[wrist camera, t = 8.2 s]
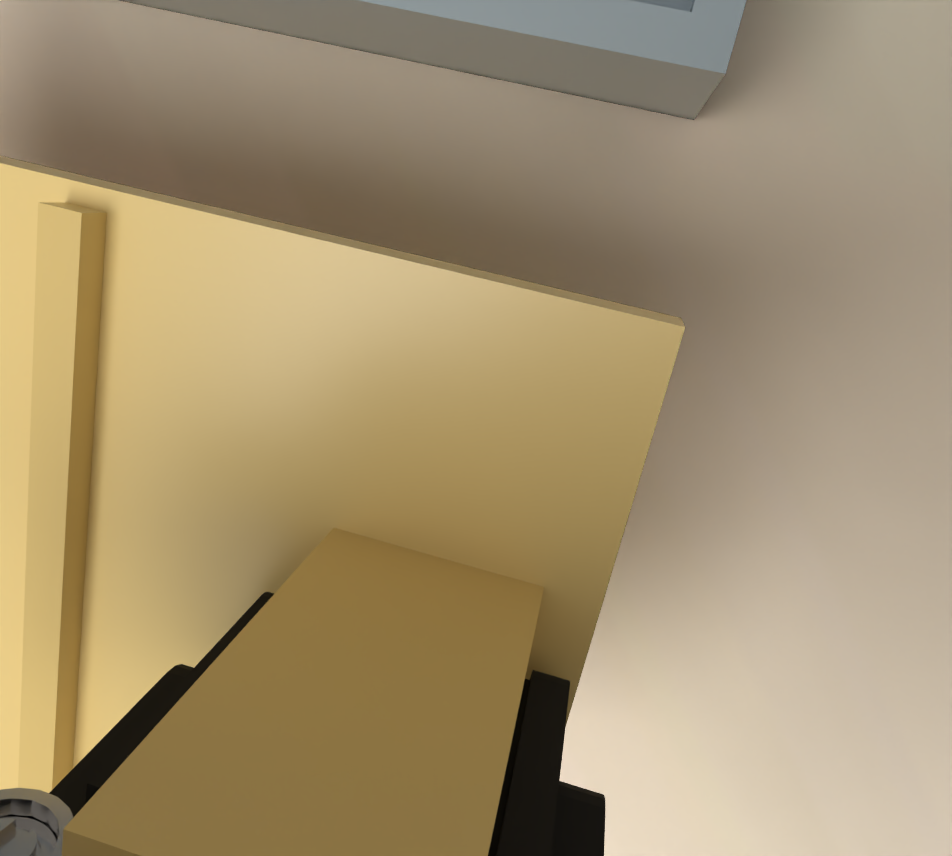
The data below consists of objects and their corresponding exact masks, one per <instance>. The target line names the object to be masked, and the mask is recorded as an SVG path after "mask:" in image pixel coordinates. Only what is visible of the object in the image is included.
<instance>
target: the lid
mask: <svg viewBox="0 0 952 856" xmlns="http://www.w3.org/2000/svg"><path fill="white" fill-rule="evenodd" d="M684 330H685V326H684V324H683V322H682V320H681V318H679V317H675V316H671V315H666V314H662V313H658V312H654V311H650V310H645V309H641V308H637V307H633V306H629V305H625V304H620V303H616V302H612V301H608V300H604V299H599V298H595V297H591V296H587V295H583V294H578V293H574V292H570V291H566V290H562V289H557V288H553V287H549V286H545V285H541V284H536V283H532V282H528V281H524V280H520V279H515V278H511V277H507V276H503V275H499V274H495V273H490V272H486V271H482V270H478V269H474V268H469V267H465V266H461V265H457V264H453V263H448V262H444V261H440V260H436V259H432V258H427V257H423V256H419V255H415V254H411V253H406V252H402V251H398V250H394V249H390V248H385V247H381V246H377V245H373V244H369V243H365V242H360V241H356V240H352V239H348V238H344V237H339V236H335V235H331V234H327V233H323V232H318V231H314V230H310V229H306V228H302V227H297V226H293V225H289V224H285V223H281V222H276V221H272V220H268V219H264V218H260V217H255V216H251V215H247V214H243V213H239V212H235V211H230V210H226V209H222V208H218V207H214V206H209V205H205V204H201V203H197V202H193V201H188V200H184V199H180V198H176V197H172V196H167V195H163V194H159V193H155V192H151V191H146V190H142V189H138V188H134V187H130V186H125V185H121V184H117V183H113V182H109V181H105V180H100V179H96V178H92V177H88V176H84V175H79V174H75V173H71V172H67V171H63V170H58V169H54V168H50V167H46V166H42V165H37V164H33V163H29V162H25V161H21V160H16V159H12V158H8V157H4V156H0V790H2V789H11V788H27V789H36V790H42V791H44V792H47V793H50V792H51V791H52V790H53V789H54V788H55V786H56V785H57V784H58V783H59V782H60V781H61V780H62V779H63V778H64V777H65V776H66V775H67V774H68V773H69V772H70V771H71V770H72V769H73V768H74V767H75V766H76V765H77V764H78V763H79V762H80V761H81V760H82V759H83V758H84V757H85V756H86V755H87V754H88V753H89V752H90V751H91V750H92V749H93V748H94V747H95V746H96V744H97V743H98V742H99V741H100V740H101V739H102V738H103V737H104V736H105V735H106V734H107V733H108V732H109V731H110V730H111V729H112V728H113V727H114V726H115V725H116V724H117V723H118V722H119V721H120V720H121V719H122V718H123V717H124V716H125V715H126V714H127V713H128V712H129V711H130V710H131V709H132V708H133V707H134V706H135V705H136V703H137V702H138V701H139V700H140V699H141V698H142V697H143V696H144V695H145V694H146V693H147V692H148V691H149V690H150V689H151V688H152V687H153V686H154V685H155V684H156V683H157V682H158V681H159V680H160V679H161V678H162V677H163V676H164V675H165V674H166V673H167V672H168V671H169V670H170V669H172V668H173V667H174V666H175V665H179V664H184V665H187V666H190V667H193V668H194V667H195V666H196V665H197V664H198V663H199V662H200V661H201V660H202V659H203V658H204V656H205V655H206V654H207V653H208V652H209V651H210V650H211V649H212V648H213V647H214V646H215V645H216V643H217V642H218V641H219V640H220V639H221V638H222V637H223V636H224V635H225V634H226V633H227V632H228V631H229V629H230V628H231V627H232V626H233V625H234V624H235V623H236V622H237V621H238V620H239V619H240V618H241V617H242V615H243V614H244V613H245V612H246V611H247V610H248V609H249V608H250V607H251V606H252V605H253V604H254V602H255V601H256V600H257V599H258V598H259V597H260V596H261V595H262V594H263V593H265V592H271V593H274V595H273V596H272V597H271V598H270V599H269V600H268V602H267V603H266V604H265V605H264V606H263V607H262V608H261V609H260V610H259V612H258V613H257V614H256V615H255V616H254V617H253V618H252V619H251V621H250V622H249V623H248V624H247V625H246V626H245V627H244V628H243V629H242V631H241V632H240V633H239V634H238V635H237V636H236V637H235V638H234V639H233V641H232V642H231V643H230V644H229V645H228V646H227V647H226V648H225V649H224V651H223V652H222V653H221V654H220V655H219V656H218V657H217V658H216V660H215V661H214V662H213V663H212V664H211V665H210V666H209V667H208V668H207V670H206V671H205V672H204V673H203V674H202V675H201V676H200V677H199V678H198V680H197V681H196V682H195V683H194V684H193V685H192V686H191V687H190V688H189V690H188V691H187V692H186V693H185V694H184V695H183V696H182V697H181V698H180V700H179V701H178V702H177V703H176V704H175V705H174V706H173V707H172V709H171V710H170V711H169V712H168V713H167V714H166V715H165V716H164V717H163V719H162V720H161V721H160V722H159V723H158V724H157V725H156V726H155V727H154V729H153V730H152V731H151V732H150V733H149V734H148V735H147V736H146V737H145V739H144V740H143V741H142V742H141V743H140V744H139V745H138V746H137V747H136V749H135V750H134V751H133V752H132V753H131V754H130V755H129V756H128V758H127V759H126V760H125V761H124V762H123V763H122V764H121V765H120V766H119V768H118V769H117V770H116V771H115V772H114V773H113V774H112V775H111V776H110V778H109V779H108V780H107V781H106V782H105V783H104V784H103V785H102V786H101V788H100V789H99V790H98V791H97V792H96V793H95V794H94V795H93V796H92V798H91V799H90V800H89V801H88V802H87V803H86V804H85V805H84V807H83V808H82V809H81V810H80V811H79V812H78V813H77V814H76V815H75V817H74V818H73V819H72V820H71V821H70V822H69V823H68V824H67V825H66V827H65V828H64V829H63V842H62V856H488V852H489V848H490V843H491V838H492V833H493V828H494V824H495V819H496V814H497V809H498V805H499V800H500V795H501V790H502V785H503V781H504V776H505V771H506V766H507V762H508V757H509V752H510V747H511V743H512V738H513V733H514V728H515V723H516V719H517V714H518V709H519V704H520V700H521V695H522V690H523V685H524V680H525V679H528V680H530V676H531V673H532V671H533V670H535V671H539V672H542V673H546V674H549V675H552V676H556V677H559V678H562V679H566V680H569V681H570V690H569V698H568V707H567V716H566V723H567V720H568V717H569V713H570V710H571V707H572V703H573V700H574V697H575V693H576V690H577V687H578V683H579V680H580V677H581V673H582V670H583V667H584V663H585V660H586V657H587V653H588V650H589V647H590V643H591V640H592V637H593V633H594V630H595V627H596V623H597V620H598V617H599V613H600V610H601V607H602V603H603V600H604V597H605V593H606V590H607V587H608V583H609V580H610V577H611V573H612V570H613V567H614V563H615V560H616V557H617V553H618V550H619V547H620V543H621V540H622V537H623V533H624V530H625V527H626V523H627V520H628V517H629V513H630V510H631V507H632V503H633V500H634V497H635V493H636V490H637V487H638V483H639V480H640V477H641V473H642V470H643V467H644V463H645V460H646V457H647V453H648V450H649V447H650V443H651V440H652V437H653V433H654V430H655V427H656V423H657V420H658V417H659V413H660V410H661V407H662V403H663V400H664V397H665V393H666V390H667V387H668V383H669V380H670V377H671V373H672V370H673V367H674V363H675V360H676V357H677V353H678V350H679V347H680V343H681V340H682V337H683V333H684ZM565 727H566V725H565Z"/></svg>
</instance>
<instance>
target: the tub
mask: <svg viewBox="0 0 952 856" xmlns="http://www.w3.org/2000/svg"><path fill="white" fill-rule="evenodd" d="M120 1H125V2H130V3H134V4H139V5H144V6H149V7H154V8H158V9H163V10H168V11H173V12H178V13H182V14H187V15H192V16H197V17H202V18H206V19H211V20H216V21H221V22H226V23H230V24H235V25H240V26H245V27H250V28H254V29H259V30H264V31H269V32H274V33H278V34H283V35H288V36H293V37H298V38H302V39H307V40H312V41H317V42H322V43H326V44H331V45H336V46H341V47H346V48H351V49H355V50H360V51H365V52H370V53H375V54H379V55H384V56H389V57H394V58H399V59H403V60H408V61H413V62H418V63H423V64H427V65H432V66H437V67H442V68H447V69H451V70H456V71H461V72H466V73H471V74H475V75H480V76H485V77H490V78H495V79H499V80H504V81H509V82H514V83H519V84H523V85H528V86H533V87H538V88H543V89H547V90H552V91H557V92H562V93H567V94H571V95H576V96H581V97H586V98H591V99H595V100H600V101H605V102H610V103H615V104H619V105H624V106H629V107H634V108H639V109H644V110H648V111H653V112H658V113H663V114H668V115H672V116H677V117H682V118H687V119H692V120H694V119H695V118H696V116H697V115H698V113H699V112H700V110H701V109H702V107H703V106H704V104H705V103H706V102H707V100H708V99H709V97H710V96H711V94H712V93H713V91H714V90H715V88H716V87H717V85H718V84H719V83H720V81H721V80H722V78H723V77H724V75H725V74H726V70H727V67H728V63H729V60H730V56H731V53H732V49H733V46H734V42H735V39H736V35H737V32H738V28H739V25H740V21H741V18H742V15H743V11H744V8H745V4H746V1H747V0H120Z"/></svg>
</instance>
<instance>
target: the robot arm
mask: <svg viewBox="0 0 952 856" xmlns="http://www.w3.org/2000/svg"><path fill="white" fill-rule="evenodd" d="M273 595H274V593H271V592H265V593H263V594H262V595H261V596H260V597H259V598H258V599H257V600H256V601H255V602H254V604H253V605H252V606H251V607H250V608H249V609H248V610H247V611H246V612H245V613H244V614H243V615H242V617H241V618H240V619H239V620H238V621H237V622H236V623H235V624H234V625H233V626H232V627H231V628H230V629H229V631H228V632H227V633H226V634H225V635H224V636H223V637H222V638H221V639H220V640H219V641H218V642H217V643H216V645H215V646H214V647H213V648H212V649H211V650H210V651H209V652H208V653H207V654H206V655H205V656H204V658H203V659H202V660H201V661H200V662H199V663H198V664H197V665H196V666H195V667H194V668H193V667H190V666H187V665H184V664H179V665H175V666H174V667H173V668H172V669H170V670H169V671H168V672H167V673H166V674H165V675H164V676H163V677H162V678H161V679H160V680H159V681H158V682H157V683H156V684H155V685H154V686H153V687H152V688H151V689H150V690H149V691H148V692H147V693H146V694H145V695H144V696H143V697H142V698H141V699H140V700H139V701H138V702H137V703H136V705H135V706H134V707H133V708H132V709H131V710H130V711H129V712H128V713H127V714H126V715H125V716H124V717H123V718H122V719H121V720H120V721H119V722H118V723H117V724H116V725H115V726H114V727H113V728H112V729H111V730H110V731H109V732H108V733H107V734H106V735H105V736H104V737H103V738H102V739H101V740H100V741H99V742H98V743H97V744H96V746H95V747H94V748H93V749H92V750H91V751H90V752H89V753H88V754H87V755H86V756H85V757H84V758H83V759H82V760H81V761H80V762H79V763H78V764H77V765H76V766H75V767H74V768H73V769H72V770H71V771H70V772H69V773H68V774H67V775H66V776H65V777H64V778H63V779H62V780H61V781H60V782H59V783H58V784H57V785H56V786H55V788H54V789H53V790H52V791H51V792H50V793H47V792H44V791H42V790H36V789H27V788H11V789H2V790H0V856H62V842H63V829H64V828H65V827H66V825H67V824H68V823H69V822H70V821H71V820H72V819H73V818H74V817H75V815H76V814H77V813H78V812H79V811H80V810H81V809H82V808H83V807H84V805H85V804H86V803H87V802H88V801H89V800H90V799H91V798H92V796H93V795H94V794H95V793H96V792H97V791H98V790H99V789H100V788H101V786H102V785H103V784H104V783H105V782H106V781H107V780H108V779H109V778H110V776H111V775H112V774H113V773H114V772H115V771H116V770H117V769H118V768H119V766H120V765H121V764H122V763H123V762H124V761H125V760H126V759H127V758H128V756H129V755H130V754H131V753H132V752H133V751H134V750H135V749H136V747H137V746H138V745H139V744H140V743H141V742H142V741H143V740H144V739H145V737H146V736H147V735H148V734H149V733H150V732H151V731H152V730H153V729H154V727H155V726H156V725H157V724H158V723H159V722H160V721H161V720H162V719H163V717H164V716H165V715H166V714H167V713H168V712H169V711H170V710H171V709H172V707H173V706H174V705H175V704H176V703H177V702H178V701H179V700H180V698H181V697H182V696H183V695H184V694H185V693H186V692H187V691H188V690H189V688H190V687H191V686H192V685H193V684H194V683H195V682H196V681H197V680H198V678H199V677H200V676H201V675H202V674H203V673H204V672H205V671H206V670H207V668H208V667H209V666H210V665H211V664H212V663H213V662H214V661H215V660H216V658H217V657H218V656H219V655H220V654H221V653H222V652H223V651H224V649H225V648H226V647H227V646H228V645H229V644H230V643H231V642H232V641H233V639H234V638H235V637H236V636H237V635H238V634H239V633H240V632H241V631H242V629H243V628H244V627H245V626H246V625H247V624H248V623H249V622H250V621H251V619H252V618H253V617H254V616H255V615H256V614H257V613H258V612H259V610H260V609H261V608H262V607H263V606H264V605H265V604H266V603H267V602H268V600H269V599H270V598H271V597H272V596H273ZM569 690H570V681H569V680H566V679H562V678H559V677H556V676H552V675H549V674H546V673H542V672H539V671H535V670H533V671H532V673H531V676H530V680H528V679H525V680H524V685H523V690H522V695H521V700H520V704H519V709H518V714H517V719H516V723H515V728H514V733H513V738H512V743H511V747H510V752H509V757H508V762H507V766H506V771H505V776H504V781H503V785H502V790H501V795H500V800H499V805H498V809H497V814H496V819H495V824H494V828H493V833H492V838H491V843H490V848H489V852H488V856H604V833H605V798H604V795H603V794H600V793H596V792H593V791H590V790H587V789H583V788H580V787H577V786H574V785H571V784H567V783H564V782H561V781H559V778H560V769H561V760H562V751H563V743H564V734H565V725H566V716H567V707H568V698H569Z"/></svg>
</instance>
